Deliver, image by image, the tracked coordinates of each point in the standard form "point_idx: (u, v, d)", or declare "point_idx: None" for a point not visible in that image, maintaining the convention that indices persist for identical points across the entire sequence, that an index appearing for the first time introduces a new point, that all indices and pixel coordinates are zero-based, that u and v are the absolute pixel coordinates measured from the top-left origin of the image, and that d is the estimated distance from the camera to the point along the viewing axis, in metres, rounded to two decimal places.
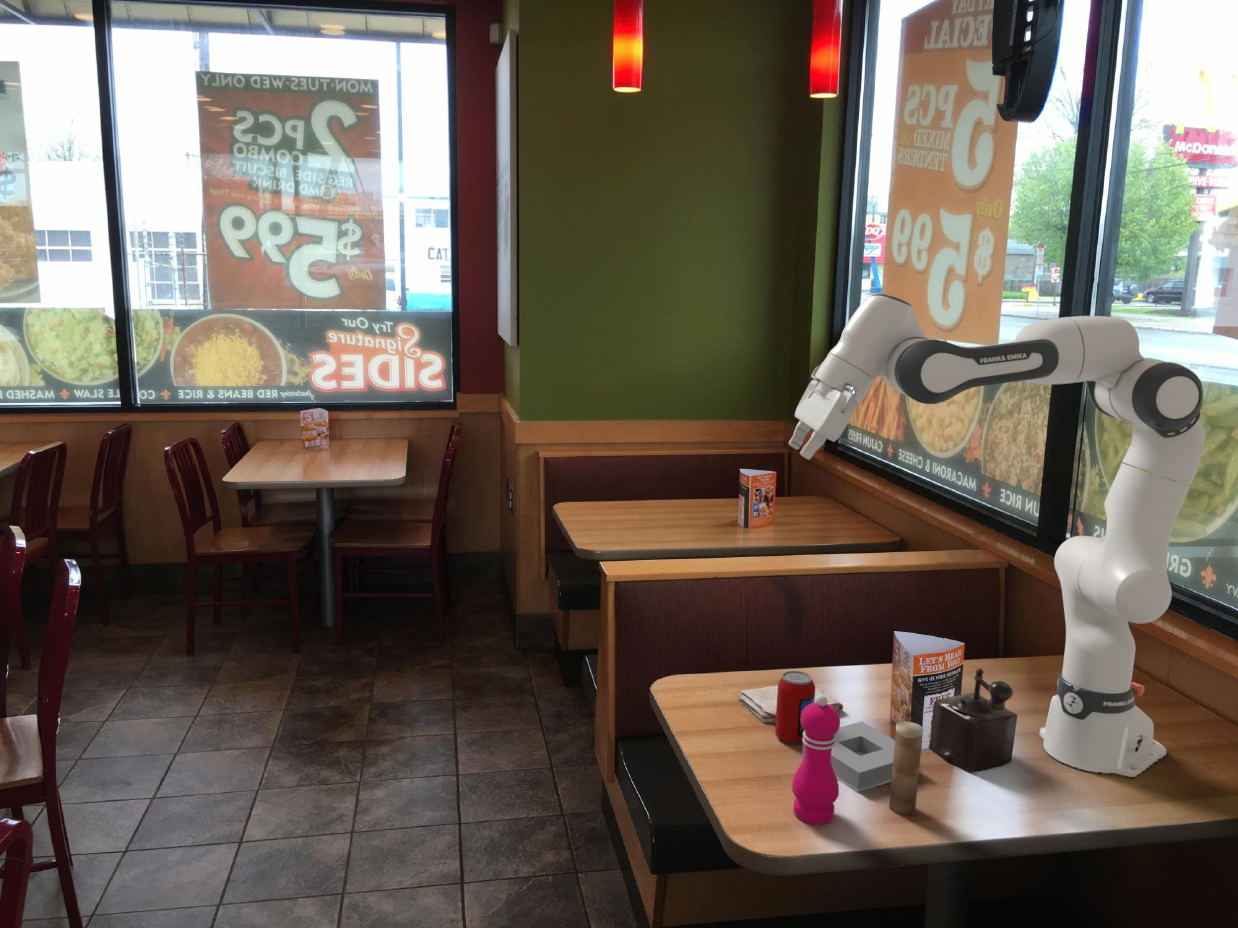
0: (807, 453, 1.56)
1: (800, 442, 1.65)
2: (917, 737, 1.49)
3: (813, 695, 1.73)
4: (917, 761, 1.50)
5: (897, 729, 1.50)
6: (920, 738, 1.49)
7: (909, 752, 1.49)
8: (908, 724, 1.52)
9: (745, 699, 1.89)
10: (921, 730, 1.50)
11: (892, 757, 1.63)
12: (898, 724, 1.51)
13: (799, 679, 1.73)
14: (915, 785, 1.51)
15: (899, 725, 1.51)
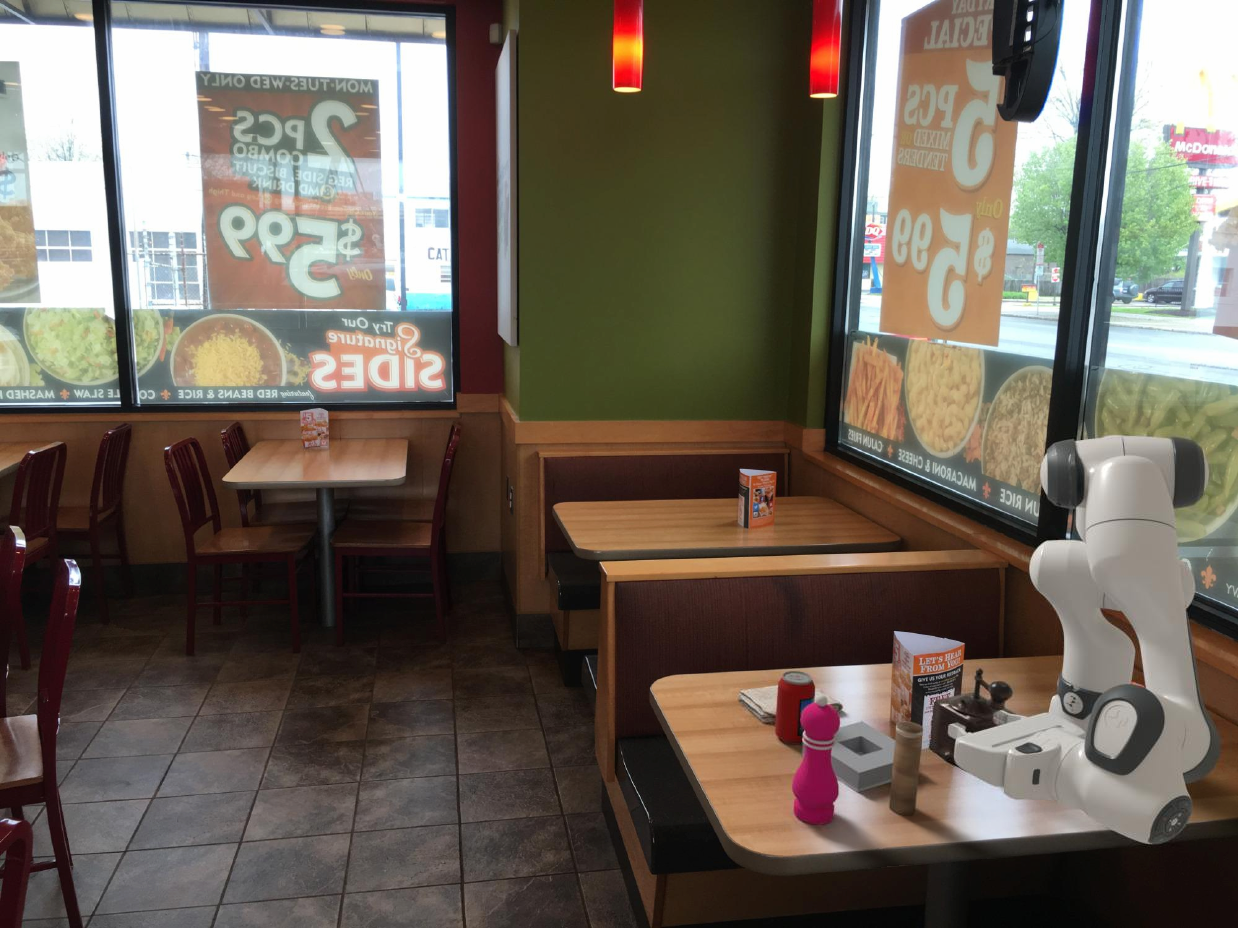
0: None
1: None
2: (917, 737, 1.49)
3: (813, 695, 1.73)
4: (917, 761, 1.50)
5: (897, 729, 1.50)
6: (920, 738, 1.49)
7: (909, 752, 1.49)
8: (908, 724, 1.52)
9: (745, 699, 1.89)
10: (921, 730, 1.50)
11: (892, 757, 1.63)
12: (898, 724, 1.51)
13: (799, 679, 1.73)
14: (915, 785, 1.51)
15: (899, 725, 1.51)
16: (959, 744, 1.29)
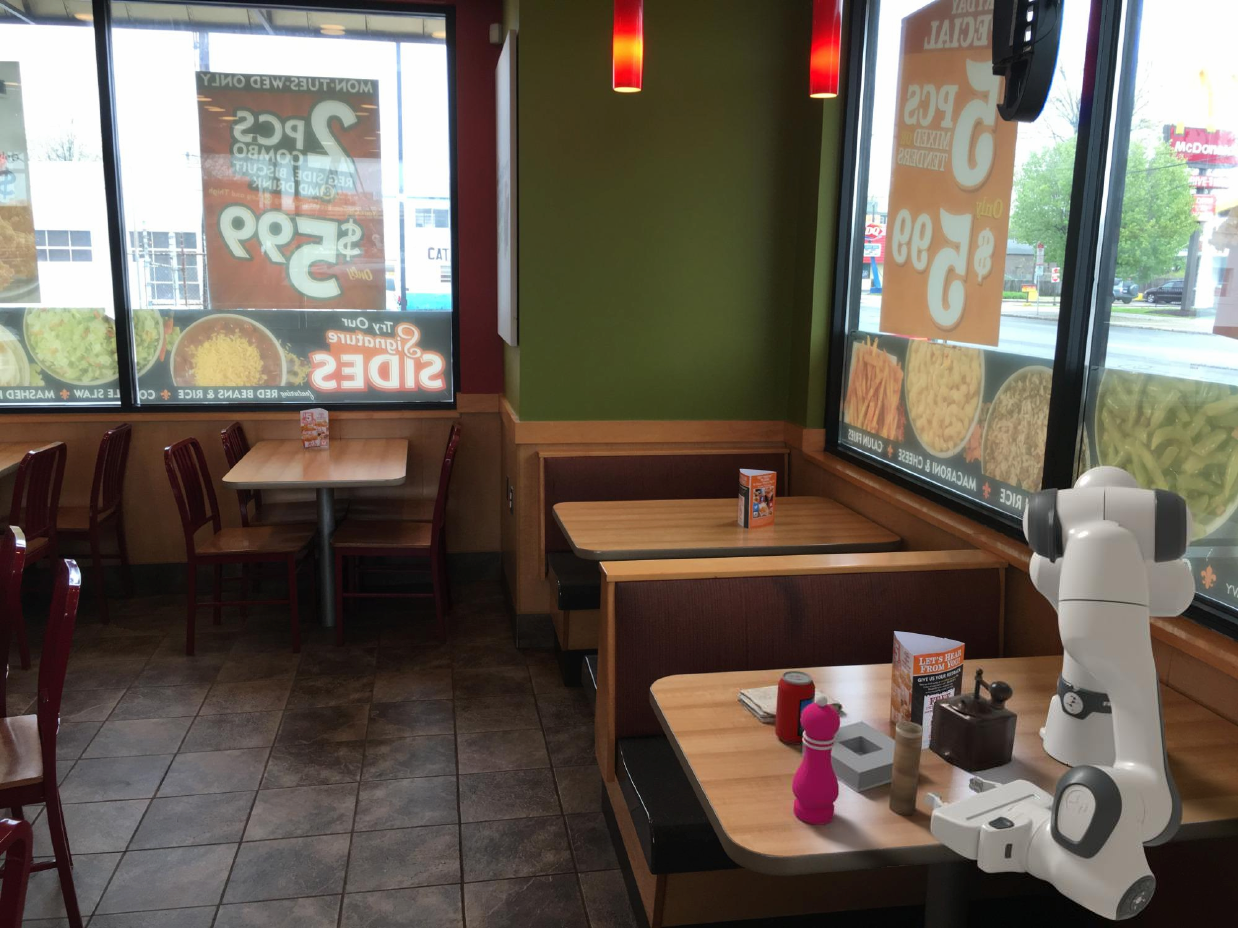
0: None
1: None
2: (917, 737, 1.49)
3: (813, 695, 1.73)
4: (917, 761, 1.50)
5: (897, 729, 1.50)
6: (920, 738, 1.49)
7: (909, 752, 1.49)
8: (908, 724, 1.52)
9: (744, 699, 1.89)
10: (921, 730, 1.50)
11: (892, 757, 1.63)
12: (898, 724, 1.51)
13: (799, 679, 1.73)
14: (915, 785, 1.51)
15: (899, 725, 1.51)
16: (935, 816, 1.34)
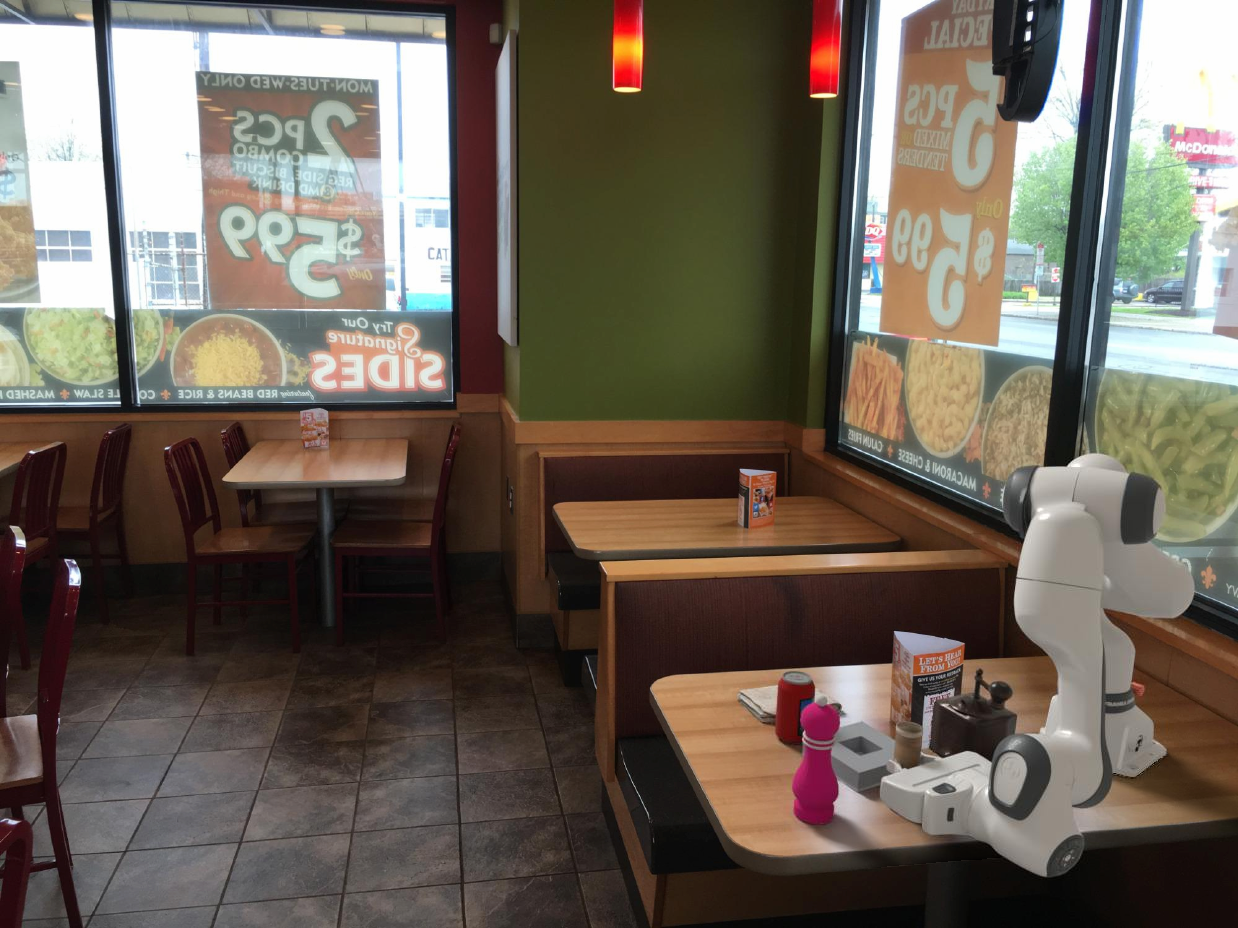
0: None
1: None
2: (917, 737, 1.49)
3: (813, 695, 1.73)
4: (917, 760, 1.50)
5: (897, 729, 1.50)
6: (920, 738, 1.49)
7: (909, 752, 1.49)
8: (908, 724, 1.52)
9: (744, 699, 1.89)
10: (921, 730, 1.50)
11: (892, 757, 1.63)
12: (898, 724, 1.51)
13: (799, 679, 1.73)
14: None
15: (899, 725, 1.51)
16: (884, 783, 1.42)
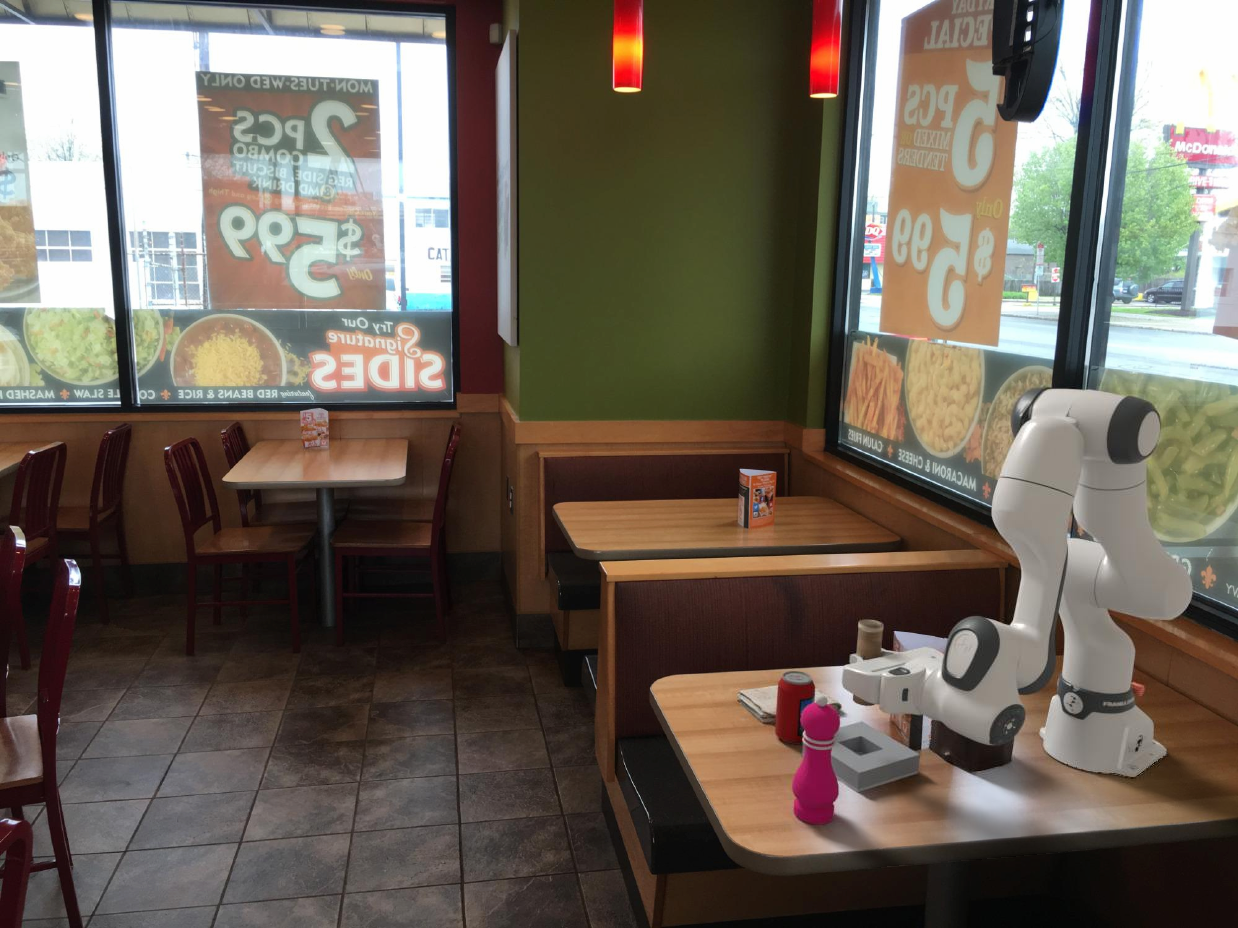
0: None
1: None
2: (877, 631, 1.60)
3: (813, 695, 1.73)
4: (878, 654, 1.62)
5: (859, 625, 1.62)
6: (880, 633, 1.61)
7: (870, 646, 1.61)
8: (870, 621, 1.63)
9: (744, 699, 1.89)
10: (881, 626, 1.61)
11: (892, 757, 1.63)
12: (860, 621, 1.63)
13: (799, 679, 1.73)
14: None
15: (861, 622, 1.63)
16: (845, 670, 1.54)
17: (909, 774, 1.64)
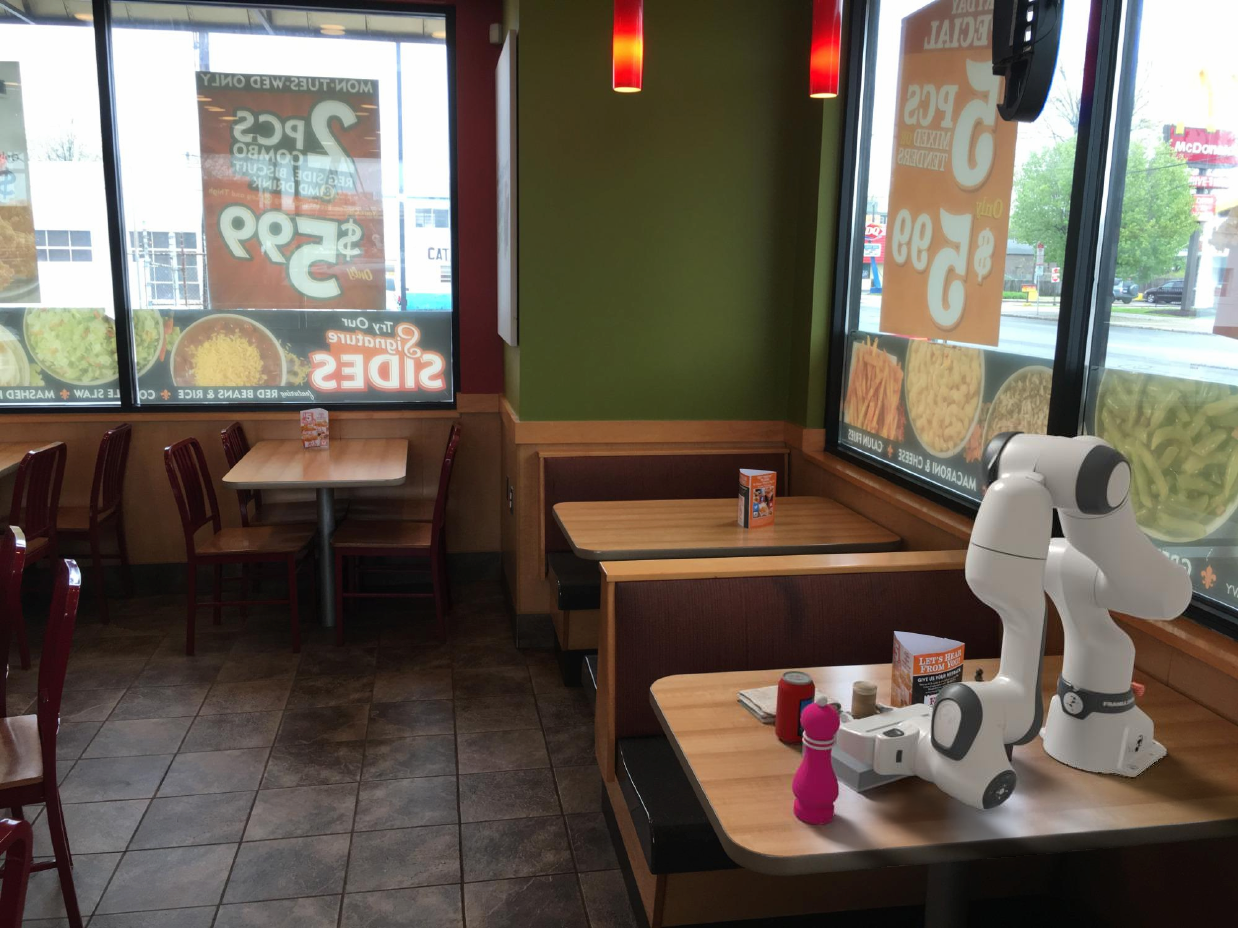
0: None
1: None
2: (871, 694, 1.63)
3: (813, 695, 1.73)
4: None
5: (854, 687, 1.64)
6: (874, 695, 1.63)
7: (864, 708, 1.63)
8: (864, 683, 1.66)
9: (744, 699, 1.88)
10: (875, 688, 1.64)
11: None
12: (855, 683, 1.65)
13: (799, 679, 1.73)
14: None
15: (855, 684, 1.65)
16: (840, 730, 1.56)
17: None
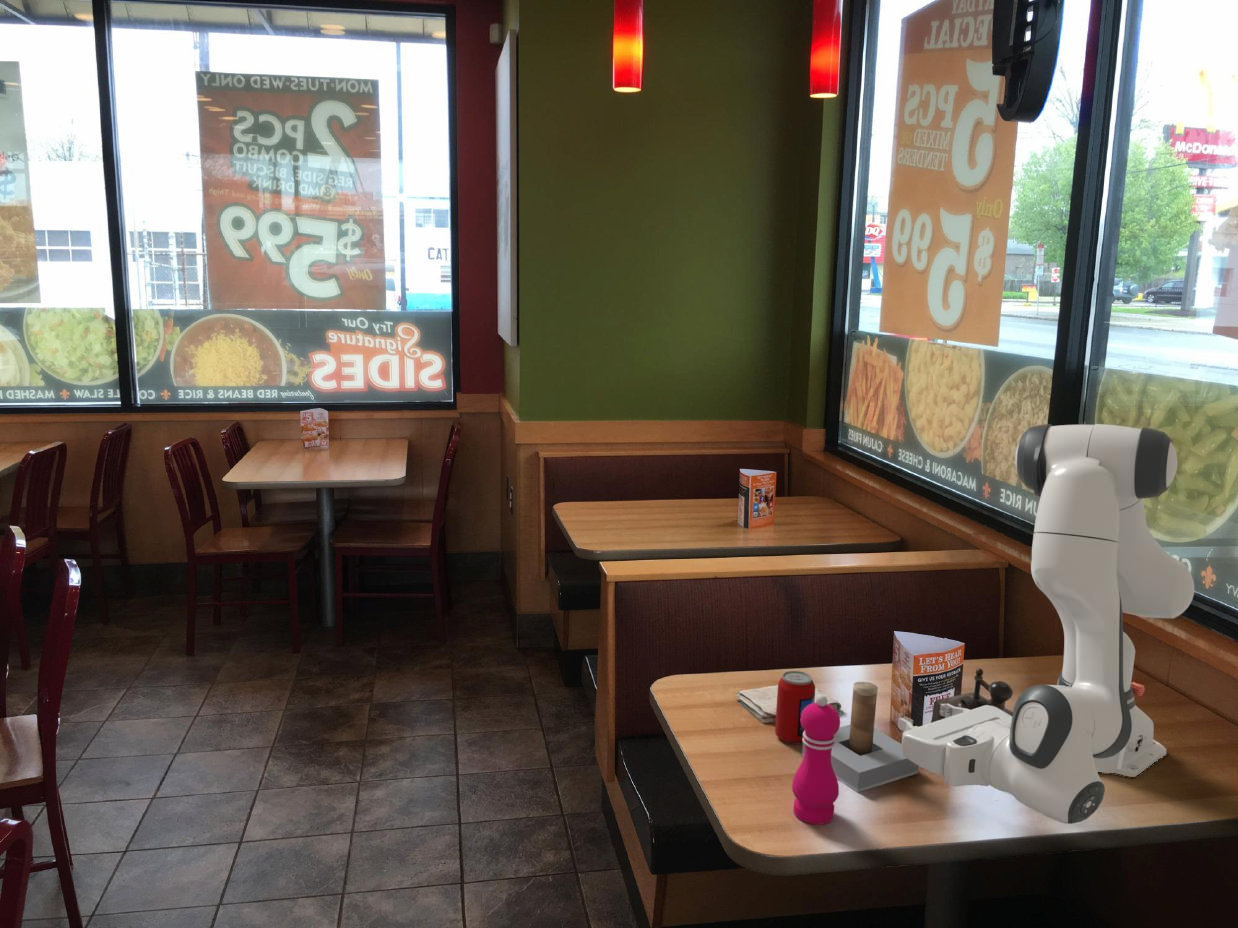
0: None
1: None
2: (872, 695, 1.63)
3: (813, 695, 1.73)
4: (872, 717, 1.64)
5: (854, 688, 1.64)
6: (875, 696, 1.63)
7: (864, 708, 1.63)
8: (864, 684, 1.65)
9: (744, 699, 1.88)
10: (876, 689, 1.63)
11: (892, 757, 1.63)
12: (855, 684, 1.65)
13: (799, 679, 1.73)
14: (870, 739, 1.65)
15: (856, 684, 1.65)
16: (905, 737, 1.45)
17: (909, 774, 1.64)
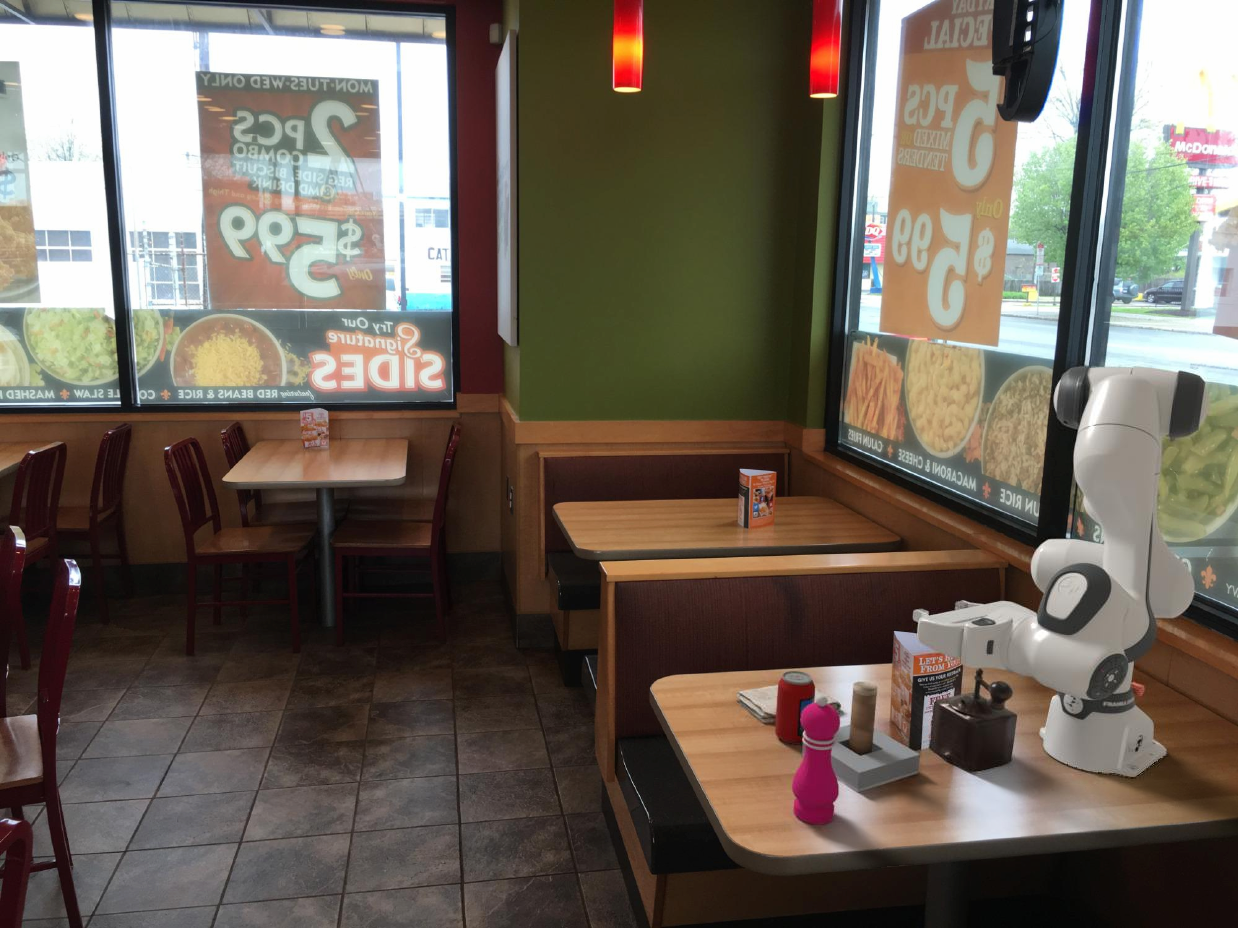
0: None
1: (926, 612, 1.49)
2: (871, 694, 1.63)
3: (813, 695, 1.73)
4: (872, 717, 1.64)
5: (854, 688, 1.64)
6: (874, 696, 1.63)
7: (864, 708, 1.63)
8: (864, 684, 1.65)
9: (743, 700, 1.88)
10: (875, 689, 1.64)
11: (892, 757, 1.63)
12: (855, 684, 1.65)
13: (799, 679, 1.73)
14: (870, 739, 1.65)
15: (855, 684, 1.65)
16: (922, 622, 1.42)
17: (909, 774, 1.64)
